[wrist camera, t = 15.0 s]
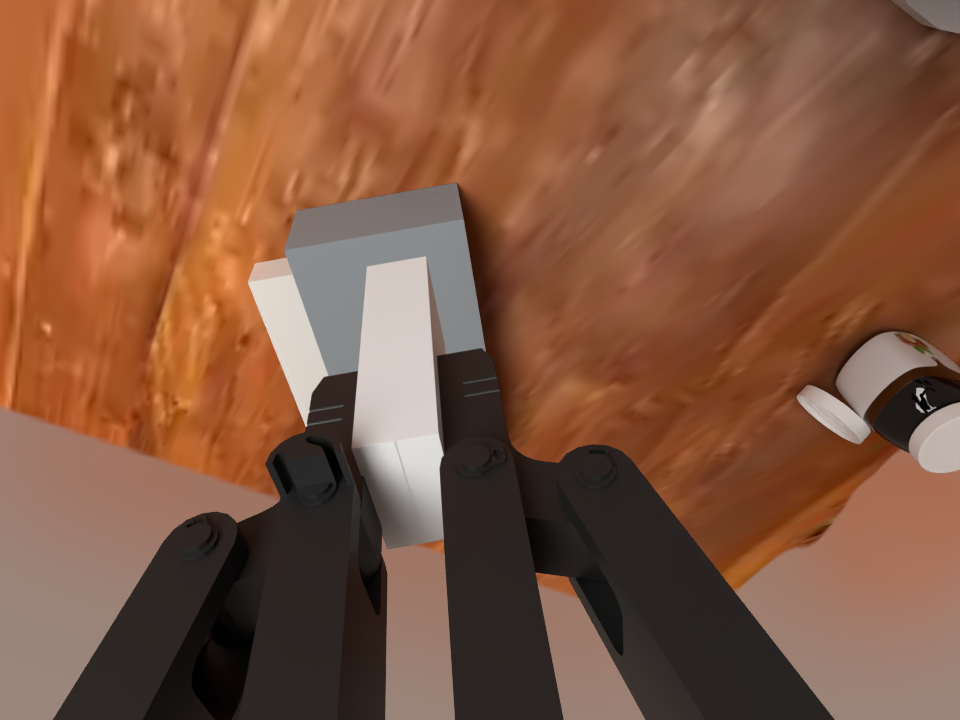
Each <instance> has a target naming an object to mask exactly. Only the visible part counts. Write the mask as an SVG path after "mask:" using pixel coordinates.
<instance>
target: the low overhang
mask: <svg viewBox="0 0 960 720" xmlns="http://www.w3.org/2000/svg"><path fill="white" fill-rule="evenodd" d="M284 251H285V254H286V257H287V260H288V263H289V265H290V268H291V271H292V274H293V277H294V280H295V282H296V285H297V288H298V291H299V294H300V297H301V299H302V302H303V305H304V308H305V311H306V314H307V316H308V319H309V322H310V325H311V328H312V331H313V333H314V336H315V339H316V342H317V345H318V348H319V350H320V353H321V356H322V359H323V362H324V365H325V367H326V370H327V373H328V376H332V375H338V374H343V373H349V372H355V371H358V366H359V354H360V343H361V331H362V319H363V307H364V296H365V284H366V272H367V266H373V265H379V264H384V263H390V262H396V261H402V260H407V259H413V258H419V257H425V256H426V258H427V263H428V267H429V272H430V277H431V281H432V286H433V291H434V295H435V300H436V305H437V310H438V314H439V319H440V324H441V328H442V333H443V338H444V343H445V350H446V354H450V353H456V352H461V351H467V350H473V349H479V348H482V349H483V350H484V351H485V352H486V349H485V343H484V337H483V332H482V326H481V320H480V314H479V308H478V302H477V296H476V290H475V284H474V278H473V272H472V266H471V260H470V254H469V248H468V243H467V237H466V231H465V225H464V219H463V213H462V208H461V203H460V197H459V192H458V187H457V183H452V184H447V185H441V186H435V187H429V188H424V189H418V190H412V191H407V192H401V193H395V194H389V195H384V196H378V197H372V198H366V199H361V200H355V201H349V202H343V203H338V204H332V205H326V206H321V207H315V208H309V209H303V210H298V211H296V214H295V217H294V220H293V224H292V227H291V230H290V233H289V236H288V240H287V243H286V246H285V249H284Z"/></svg>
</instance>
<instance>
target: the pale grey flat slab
mask: <svg viewBox="0 0 960 720" xmlns="http://www.w3.org/2000/svg"><path fill="white" fill-rule="evenodd" d="M248 284H249V286H250V289H251V291H252V294H253V296H254V299H255V301H256V304H257V306H258V309H259V311H260V314H261V316H262V319H263V321H264V324H265V326H266V329H267V331H268V334H269V336H270V339H271V341H272V344H273V346H274V349H275V351H276V353H277V356H278V358H279V361H280V363H281V366H282V368H283V371H284V373H285V376H286V378H287V381H288V383H289V386H290V388H291V391H292V393H293V396H294V398H295V401H296V403H297V406H298V408H299V411H300V413H301V416H302V418H303V421H304V423H305V426H306V427H307V419H308V413H310V412H309V407H310V402H311V396H312V392H313V391H314V390H315V388H316V387H317V386H318V384H319V383H320V381H321V380H322V379H323V377H326V376H328V373H327V370H326V367H325V365H324V362H323V359H322V356H321V353H320V350H319V348H318V345H317V342H316V339H315V336H314V333H313V331H312V328H311V325H310V322H309V319H308V316H307V314H306V311H305V308H304V305H303V302H302V299H301V297H300V294H299V291H298V288H297V285H296V282H295V280H294V277H293V274H292V271H291V268H290V265H289V263H288V260H287V258H283V259H277V260H271V261H265V262H260V263H255V265H254V268H253V270H252V273H251V276H250V278H249V281H248Z"/></svg>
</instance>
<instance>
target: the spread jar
mask: <svg viewBox="0 0 960 720" xmlns="http://www.w3.org/2000/svg"><path fill="white" fill-rule="evenodd" d="M836 387H837V389H838V391H839V392H840V394H841V395H842V396H843V398H844V399H845V400H846V401H847V403H848V404H849V405H850V406H851V407H852V408H853V409H854V411H855V412H856V413H857V414H858V415H859V416H858V415H857V414H856V413H855V412H854V411H852V410H851V409H850V408H849V407H847V406H846V405H845V404H844V403H842V402H841V401H839V400H838V399H836V398H835V397H833V396H832V395H830V394H829V393H827V392H825V391H823V390H821V389H819V388H817V387H815V386H811V385H807V386H805V387H804V388H803V389H802V390H801V392H800V393H799V394H798V395H797V397H796V398H797V400H798V401H799V403H800V404H801V405H802V406H803V407H804V408H805V409H806V410H807V411H808V412H809V413H810V414H811V415H812V416H813V417H814V418H815V419H817V420H818V421H819V422H820V423H822V424H823V425H824V426H826V427H827V428H829V429H830V430H831V431H833V432H834V433H836V434H838V435H839V436H841V437H842V438H844V439H846V440H848V441H850V442H852V443H855V444H861V442H862V441H863V440H864V439H865V438H866V437H867V436H868V435H869V434H870V433H871V431H870V428H871V429H872V430H873V431H875V432H876V433H877V434H878V435H880V436H881V437H882V438H884V439H885V440H887V441H888V442H890V443H891V444H893V445H895V446H896V447H898V448H900V449H902V450H904V451H906V452H908V453H910V454H911V455H912V457H913V458H914V459H915V460H916V461H917V462H918V463H919V464H920V466H921V467H923V468H924V469H925V470H927V471H929V472H934V473H948V472H953V471H957V470H960V367H958V366H957V365H956V364H955V363H954V362H953V361H952V360H950V359H949V358H948V357H947V356H945V355H944V354H943V353H942V352H940V351H939V350H938V349H936V348H935V347H933V346H932V345H931V344H929V343H928V342H926V341H925V340H923V339H921V338H919V337H918V336H916V335H914V334H912V333H909V332H906V331H903V330H898V329H887V330H882V331H879V332H876V333H874V334H872V335H870V336H868V337H867V338H865V339H864V340H863V341H861V342H860V343H859V344H857V345H856V346H855V347H854V348H853V349H852V350H851V351H850V352H849V354H848V355H847V356H846V358H845V359H844V361H843V362H842V364H841V366H840V368H839V370H838V373H837V376H836ZM868 426H869V427H870V428H869V427H868Z"/></svg>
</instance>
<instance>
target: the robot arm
mask: <svg viewBox="0 0 960 720" xmlns="http://www.w3.org/2000/svg"><path fill="white" fill-rule="evenodd" d="M309 412H310V413H308V419H307V427H306V431H305V432H304V433H301V434H298V435H294V436H292V437H290V438H289V439H287V440H285V441H284V442H282V443H280V444H279V445H278V446H277V447H276V448H275V449H274V450H273V451H272V452H271V453H270V455H269V457H268V459H267V461H266V464H265V465H266V467H267V469H268V471H269V473H270V475H271V477H272V480H273V482H274V484H275V486H276V488H277V490H278V492H279V494H280V496H281V498H280V501H279V502H278V503H277V504H275V505H274V506H273V507H271V508H269V509H267V510H265V511H263V512H262V513H259V514H257V515H254V516H252V517H250V518H247V519H245V520H243V521H241V522H238V523H236V521H235V520H234V519H233V518H232V517H230V516H229V515H228V514H225V513H220V512H210V513H203V514H200V515H197V516H195V517H193V518H190V519H188V520H186V521H185V522H184V523H182V524H181V525H179V526H178V527H177V528H175V529H174V530H173V531H172V532H171V533H170V535H169V536H168V537H167V538H166V539H165V541H164V542H163V543H162V545H161V547H160V548H159V550H158V551H157V553H156V555H155V556H154V558H153V559H152V561H151V563H150V564H149V566H148V568H147V569H146V571H145V572H144V574H143V576H142V577H141V579H140V580H139V582H138V584H137V585H136V587H135V588H134V590H133V592H132V593H131V595H130V597H129V598H128V600H127V601H126V603H125V605H124V606H123V608H122V609H121V611H120V613H119V614H118V616H117V618H116V619H115V621H114V622H113V624H112V626H111V627H110V629H109V630H108V632H107V634H106V635H105V637H104V639H103V640H102V642H101V643H100V645H99V646H98V648H97V650H96V651H95V653H94V654H93V656H92V658H91V660H90V661H89V663H88V664H87V666H86V667H85V669H84V671H83V672H82V674H81V675H80V677H79V679H78V680H77V682H76V683H75V685H74V687H73V688H72V690H71V692H70V693H69V695H68V696H67V698H66V700H65V701H64V703H63V704H62V706H61V708H60V709H59V711H58V712H57V714H56V716H55V717H54V719H53V720H385V693H386V692H385V691H386V685H385V684H386V627H387V626H386V625H387V621H386V620H387V570H386V566H385V562H384V560H383V557H382V554H381V548H382V536H383V539H384V541H385V544H386V547H387V549H392V548H397V547H403V546H409V545H415V544H421V543H427V542H432V541H438V540H444V550H445V566H446V582H447V597H448V614H449V629H450V645H451V660H452V677H453V691H454V692H453V693H454V709H455V720H563V714H562V709H561V704H560V699H559V694H558V688H557V683H556V678H555V673H554V667H553V663H552V657H551V652H550V647H549V642H548V636H547V631H546V626H545V621H544V616H543V610H542V605H541V600H540V595H539V589H538V584H537V579H536V574H535V572H536V573H544V574H551V575H559V576H567V577H568V578H569V581H570V583H571V584H572V586H573V588H574V590H575V592H576V594H577V595H578V597H579V599H580V601H581V603H582V604H583V606H584V608H585V610H586V612H587V614H588V615H589V617H590V619H591V621H592V623H593V624H594V626H595V628H596V630H597V632H598V634H599V636H600V637H601V639H602V641H603V643H604V644H605V646H606V648H607V650H608V652H609V654H610V656H611V657H612V659H613V661H614V663H615V665H616V667H617V668H618V670H619V672H620V674H621V675H622V678H623V679H624V681H625V683H626V685H627V687H628V688H629V690H630V692H631V694H632V696H633V698H634V699H635V701H636V703H637V705H638V707H639V709H640V710H641V712H642V714H643V716H644V718H645V720H834V718H833V717H832V716H831V715H830V713H829V712H828V711H827V709H826V708H825V707H824V706H823V704H822V703H821V702H820V700H819V699H818V698H817V697H816V695H815V694H814V693H813V692H812V690H811V689H810V688H809V686H808V685H807V684H806V683H805V681H804V680H803V679H802V678H801V676H800V675H799V674H798V672H797V671H796V670H795V669H794V667H793V666H792V665H791V663H790V662H789V661H788V660H787V658H786V657H785V656H784V654H783V653H782V652H781V651H780V649H779V648H778V647H777V646H776V644H775V643H774V642H773V641H772V639H771V638H770V637H769V635H768V634H767V633H766V631H765V630H764V629H763V628H762V626H761V625H760V624H759V622H758V621H757V620H756V619H755V617H754V616H753V615H752V614H751V612H750V611H749V610H748V609H747V607H746V606H745V605H744V603H743V602H742V601H741V600H740V598H739V597H738V596H737V594H736V593H735V592H734V591H733V589H732V588H731V587H730V585H729V584H728V583H727V582H726V580H725V579H724V578H723V576H722V575H721V574H720V573H719V571H718V570H717V569H716V568H715V566H714V565H713V564H712V562H711V561H710V560H709V559H708V557H707V556H706V555H705V553H704V552H703V551H702V550H701V548H700V547H699V546H698V545H697V543H696V542H695V541H694V539H693V538H692V537H691V536H690V534H689V533H688V532H687V530H686V529H685V528H684V527H683V525H682V524H681V523H680V522H679V520H678V519H677V518H676V516H675V515H674V514H673V513H672V511H671V510H670V509H669V507H668V506H667V505H666V504H665V502H664V501H663V500H662V499H661V497H660V496H659V495H658V493H657V492H656V491H655V490H654V488H653V487H652V486H651V484H650V483H649V482H648V481H647V479H646V478H645V477H644V475H643V474H642V473H641V472H640V470H639V469H638V468H637V467H636V465H635V464H634V463H633V461H632V460H631V459H630V458H629V457H628V456H626V455H625V454H624V453H623V452H622V451H620V450H618V449H615V448H612V447H610V446H606V445H593V444H592V445H588V446H583V447H578V448H576V449H574V450H573V451H571V452H569V453H567V454H566V455H565V456H564V457H563V459H562V460H561V461H560V462H559V463H553V462H543V461H538V460H533V459H531V458H528V457H526V456H524V455H522V454H521V453H519V452H518V451H517V450H516V449H515V448H514V447H513V446H512V444H511V442H510V440H509V437H508V432H507V427H506V422H505V417H504V412H503V406H502V401H501V396H500V391H499V386H498V381H497V376H496V371H495V365H494V360H493V359H492V358H491V357H490V356H489V355H488V354H487V353H486V352H485V351H484V350H483V349H482V348H479V349H473V350H467V351H461V352H456V353H450V354H446V350H445V343H444V338H443V333H442V328H441V324H440V319H439V314H438V310H437V305H436V300H435V295H434V291H433V286H432V281H431V277H430V272H429V267H428V263H427V258H426V256H425V257H419V258H413V259H407V260H402V261H396V262H390V263H384V264H379V265H373V266H367V272H366V284H365V296H364V307H363V319H362V331H361V343H360V354H359V366H358V371H355V372H349V373H343V374H338V375H332V376H326V377H323V379H322V380H321V381H320V383H319V384H318V386H317V387H316V388H315V390H314V391H313V392H312V396H311V402H310V407H309Z"/></svg>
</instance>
